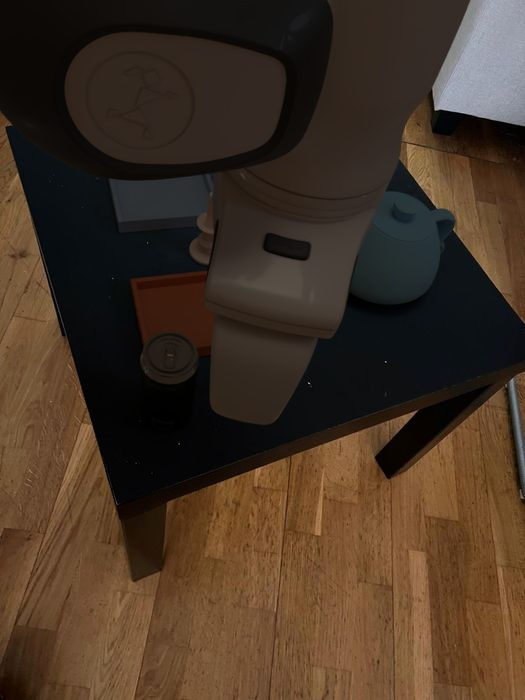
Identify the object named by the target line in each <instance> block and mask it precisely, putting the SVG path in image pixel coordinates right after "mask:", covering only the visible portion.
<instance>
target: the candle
mask: <svg viewBox="0 0 525 700" xmlns="http://www.w3.org/2000/svg"><path fill="white" fill-rule="evenodd" d="M197 227H198V229H199V230H201V232H200V233H199V235H198V236H197V237H195V238H194V239H193V240H191V243H190V244H189V249H188V252H189V255H190V257H191V259H192V260H193V261H194V262H195V263H197V264H198V265H202V266H204V267H208V265H209V260H210V255H211V251H212V246H213V237H214V232H213V219H212V192H211V193H210V196H209V202H208V209H207V213H203V214H201V215H200V216H199V217H198V219H197Z"/></svg>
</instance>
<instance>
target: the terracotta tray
mask: <svg viewBox="0 0 525 700" xmlns="http://www.w3.org/2000/svg"><path fill="white" fill-rule="evenodd" d="M206 276H207V270H200V271H191V272H182V273H173V274H165V275H163V274H162V275H157V276H156V275H155V276H154V275H153V276H146V277H145V276H144V277H135V278H130V292H131V297H132V301H133V306H134V311H135V315H136V320H137V326H138V329H139V333H140V334H139V335H140V338H141V345H142V349H143V348H144V345H145V343H146V342H147V341H148V340H149V338H151V337H152V336H154V335H155V334H158V333H161V332H164V331H174V332H179V333H182V334H184V335H186V336H188V337H189V338H190V339H191V340H192V341H193V343H194V344H195V346H196V348H197V352H198V356H199V358H200V357H206V356H211V345H212V333H213V323H214V315H215V313H214V312H211V311H208V310H206V309H205V307H204V302H203V300H204V292H205V284H206Z"/></svg>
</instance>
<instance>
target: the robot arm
mask: <svg viewBox="0 0 525 700" xmlns="http://www.w3.org/2000/svg"><path fill="white" fill-rule="evenodd" d="M471 1H472V0H0V112H1V114H2V115H3V117H5V119H6V120H7V121H8V122H9V124H10V125H11V126H12V127H13V128H14V129H16V131H17V132H18V133H19V134H20V135H22V136H23V137H24V138H25V139H26V141H28V142H30V143H31V144H32V145H33V146H35V147H36V148H38V149H39V150H40V151H42V152H43V153H45V154H46V155H48V156H50V157H51V158H53V159H54V160H56V161H59V162H60V163H62V164H64V165H66V166H68V167H70V168H72V169H75V170H77V171H80V172H82V173H86V174H88V175H92V176H96V177H99V178H105V179H108V178H109V179H116V180H128V181H146V180H161V179H171V178H180V177H190V176H197V175H204V174H210V175H211V174H214V175H213V182H212V183H213V191H212V219H213V232H214V237H213V246H212V251H211V255H210V260H209V265H208V266H207V270H206V271H207V276H206V284H205V292H204V300H203V302H204V307H205V309H206V310H208V311H211V312H214V313H215V315H214V323H213V333H212V345H211V355H210V369H209V405H210V408H211V409H212V411H213V412H215V413H216V414H217V415H220V416H222V417H225V418H228V419H231V420H235V421H239V422H243V423H248V424H253V425H254V424H255V425H263V426H264V425H270V424H272V423H275V422H276V421H277V420H278V419H279V417H280V416H281V414H282V413H283V412H284V410H285V408H286V406H287V404H288V403H289V401H291V400H290V399H291V398H292V396H293V394H294V393H295V391H296V389H297V388H298V386H299V384H300V382H301V380H302V379H303V376H304V374H305V373H306V371H307V369H308V367H309V365H310V362H311V359H312V357H313V354H314V352H315V349H316V347H317V343H318V340H319V338H320V339H327V340H330V339H331V338H333V337H334V336H335V334H336V333H337V331H338V329H339V327H340V325H341V323H342V320H343V318H344V315H345V312H346V311H345V310H346V306H347V303H348V301H349V297H350V294H351V293H350V288H351V283H352V279H353V275H354V271H355V267H356V263H357V259H358V253H359V251H360V249H361V247H362V246H363V244H364V242H365V239H366V237H367V235H368V233H369V231H370V228H371V226H372V224H373V222H374V219H375V216H376V211H377V209H378V207H379V204H380V202H381V200H382V198H383V196H384V193H385V192H387V189H388V187H389V184H390V182H391V181H392V179H393V176H394V174H395V171H396V169H397V167H398V164H399V160H400V157H401V153H402V142H403V135H404V131H405V128H406V127H407V124H408V122H409V120H410V118H411V116H412V115H413V114H414V112H416V109H418V107H419V106H420V105H421V104H422V103H423V102H424V101H425V99H426V98H427V97H428V95H429V94H430V92H431V90H432V89H433V88H434V85H435V84H436V82H437V79H438V77H439V75H440V73H441V70H442V68H443V66H444V64H445V62H446V60H447V57H448V55H449V52H450V50H451V48H452V46H453V44H454V41H455V39H456V36H457V35H458V32H459V30H460V27H461V25H462V23H463V20H464V18H465V16H466V13H467V10H468V8H469V6H470V3H471Z"/></svg>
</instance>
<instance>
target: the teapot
mask: <svg viewBox="0 0 525 700" xmlns="http://www.w3.org/2000/svg"><path fill="white" fill-rule="evenodd" d="M442 221H443V222H442ZM456 221H457V220H456V217H455V215H454V214H453V212H451V210H449V209H447V208H434V209H432V210H430V208H428V207H427V205H425V204H424V203H423V202H422V201H421V200H420V199H418V198H416V197H414V196H412V195H409V194H407V193H404V192H401V191H400V192H399V191H392V190H391V191H389V190H388V191H385V193H384V196H383V198H382V200H381V202H380V204H379V207H378V209H377V211H376V216H375V219H374V222H373V224H372V226H371V228H370V231H369V233H368V235H367V237H366V239H365V242H364V244H363V246H362V247H361V249H360V251H359V253H358V259H357V263H356V267H355V271H354V275H353V279H352V283H351V288H350V293H349V294H352V295H353V296H354V297H356V298H358V299H361V300H363V301H366V302H368V303H372V304H377V305H400V304H402V305H403V304H406V303H410V302H412V301H414V300H416V299H418V298H420V297H422V296H423V295H424V294H425V293H426V292H427V291H428V290H429V289H430V287H431V286H432V284H433V282H434V280H435V278H436V275H437V273H438V269H439V265H440V262H441V261H440V260H441V255H442V254H443V252H444V250H445V247H446V245H445V242H444V240H446V239H447V237H448V236H450V234H451V233H452V231H454V228H455V227H456V223H457V222H456ZM438 222H442V224H440V226H439V227H438V225H437V223H438Z"/></svg>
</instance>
